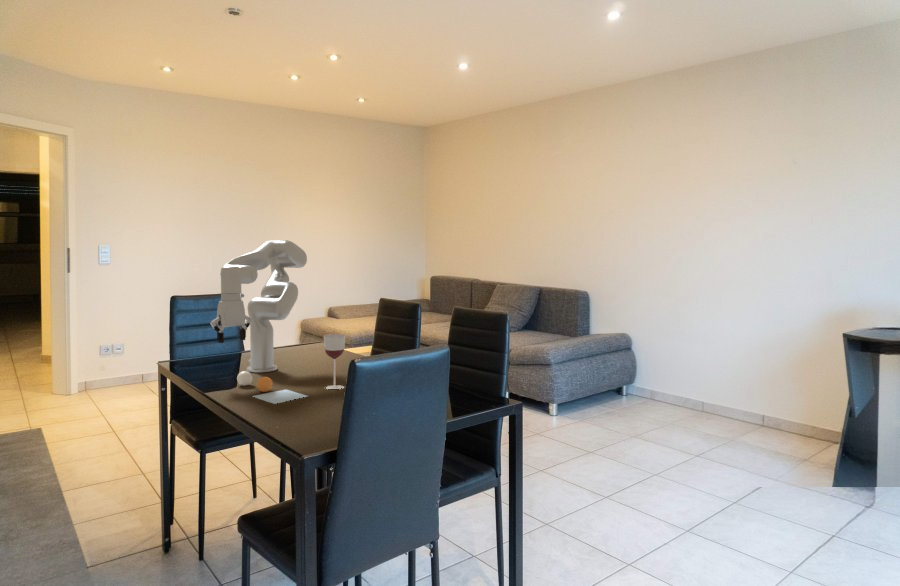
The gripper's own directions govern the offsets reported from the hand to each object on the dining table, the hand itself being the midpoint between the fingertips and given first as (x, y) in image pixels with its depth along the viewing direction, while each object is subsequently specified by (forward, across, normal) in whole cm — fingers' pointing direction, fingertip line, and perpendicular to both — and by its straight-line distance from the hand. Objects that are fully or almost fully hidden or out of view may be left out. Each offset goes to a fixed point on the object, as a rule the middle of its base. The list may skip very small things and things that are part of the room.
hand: (231, 341), depth 228 cm
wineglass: (+16, -22, +36) cm, 46 cm away
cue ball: (+13, 0, +9) cm, 16 cm away
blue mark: (+16, 0, +33) cm, 37 cm away
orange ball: (+13, 0, +23) cm, 27 cm away
